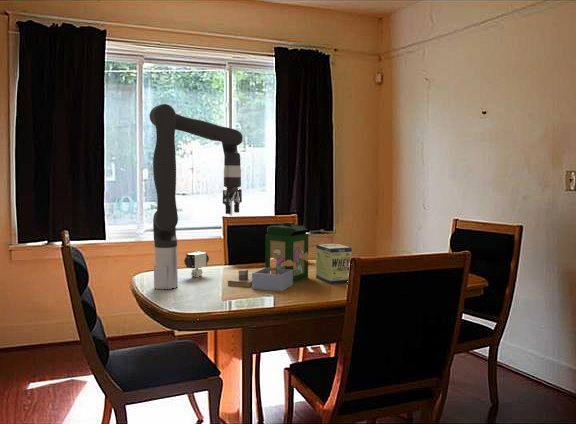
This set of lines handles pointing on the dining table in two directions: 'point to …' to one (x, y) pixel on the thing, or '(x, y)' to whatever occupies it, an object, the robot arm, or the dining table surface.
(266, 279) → the bin
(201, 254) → the pneumatic valve
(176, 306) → the dining table surface
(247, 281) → the stud block
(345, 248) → the protein box
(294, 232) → the container
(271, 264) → the peg block
